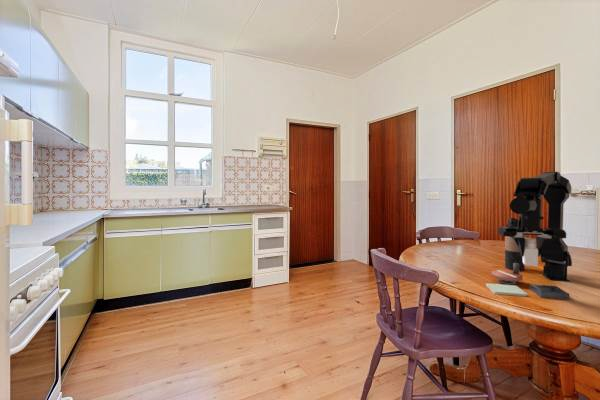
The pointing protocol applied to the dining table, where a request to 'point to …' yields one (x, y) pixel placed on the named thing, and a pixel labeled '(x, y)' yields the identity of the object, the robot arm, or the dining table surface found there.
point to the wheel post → (506, 282)
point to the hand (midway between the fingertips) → (529, 256)
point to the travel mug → (512, 253)
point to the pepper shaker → (530, 252)
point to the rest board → (506, 289)
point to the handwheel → (508, 274)
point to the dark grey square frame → (549, 291)
